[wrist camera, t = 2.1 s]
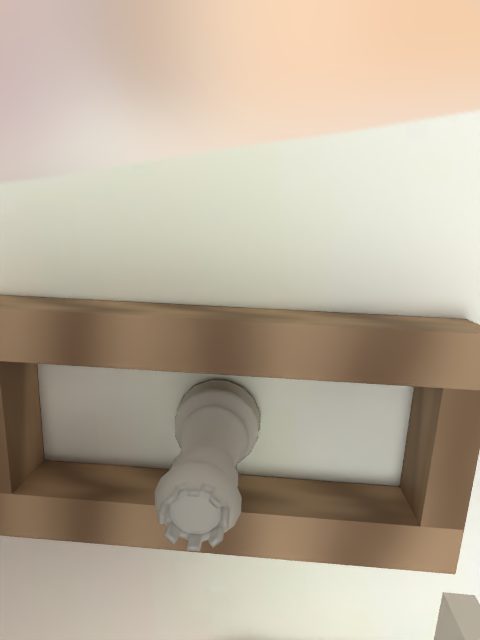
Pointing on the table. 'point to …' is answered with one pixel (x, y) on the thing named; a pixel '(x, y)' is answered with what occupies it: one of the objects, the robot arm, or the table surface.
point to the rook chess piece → (207, 463)
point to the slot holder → (256, 491)
